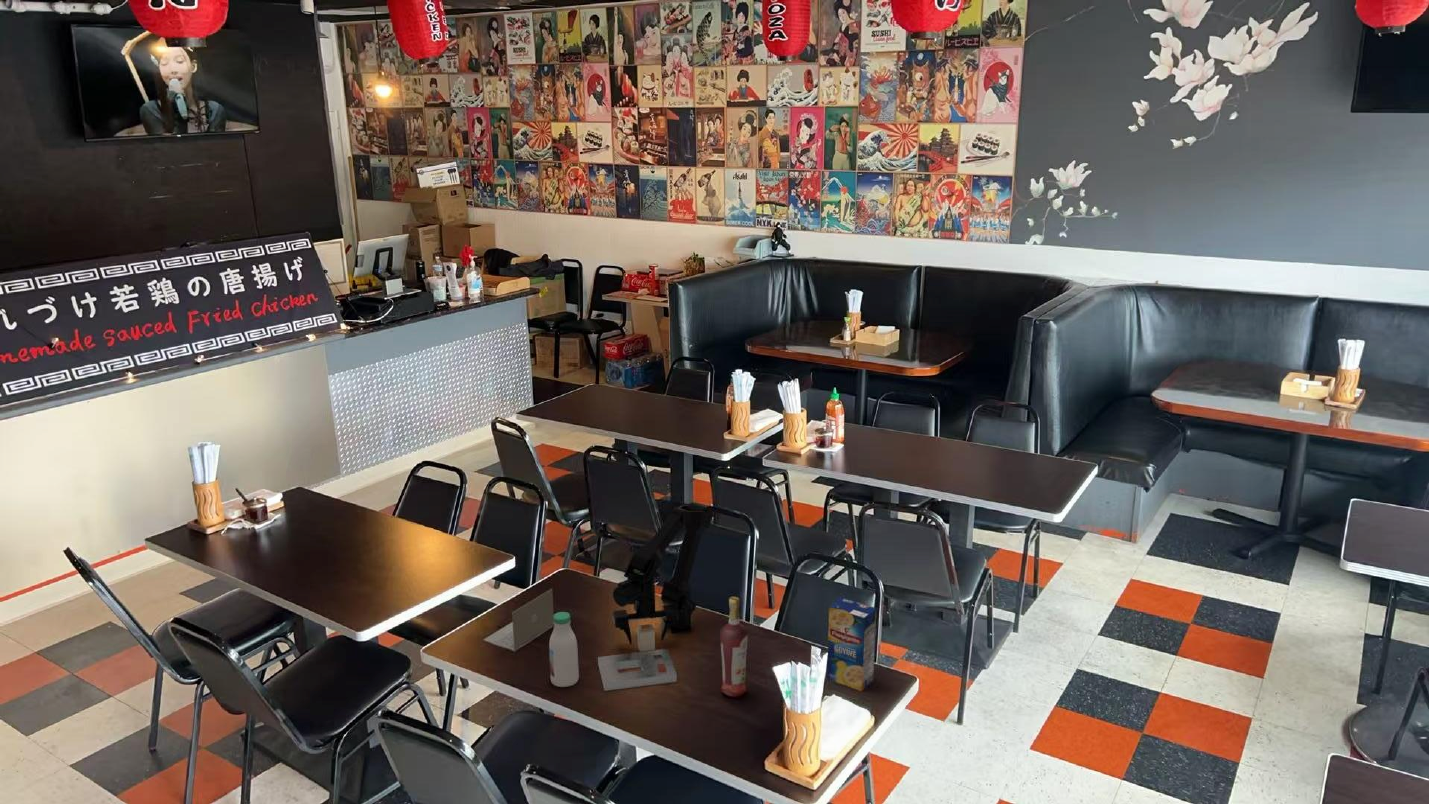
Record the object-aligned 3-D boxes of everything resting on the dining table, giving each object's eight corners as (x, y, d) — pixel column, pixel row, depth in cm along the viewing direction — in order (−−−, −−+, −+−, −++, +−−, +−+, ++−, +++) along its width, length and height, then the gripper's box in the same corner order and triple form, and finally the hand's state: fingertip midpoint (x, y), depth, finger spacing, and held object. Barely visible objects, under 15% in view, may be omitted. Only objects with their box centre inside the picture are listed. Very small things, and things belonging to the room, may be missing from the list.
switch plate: (667, 656, 293) (667, 646, 292) (676, 681, 280) (676, 671, 279) (598, 665, 289) (597, 654, 288) (604, 691, 275) (604, 680, 275)
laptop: (523, 617, 317) (521, 579, 313) (554, 627, 311) (552, 588, 307) (483, 642, 302) (480, 602, 299) (515, 653, 296) (512, 612, 292)
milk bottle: (583, 675, 283) (580, 611, 278) (571, 690, 276) (567, 623, 271) (558, 671, 286) (555, 606, 280) (545, 685, 278) (542, 619, 273)
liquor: (738, 703, 270) (739, 607, 262) (715, 695, 273) (714, 600, 266) (752, 690, 276) (753, 596, 268) (729, 682, 279) (729, 590, 272)
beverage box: (862, 691, 275) (865, 618, 269) (826, 678, 281) (828, 606, 275) (873, 680, 280) (876, 608, 274) (838, 668, 287) (841, 597, 281)
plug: (652, 642, 301) (651, 622, 299) (654, 649, 297) (654, 629, 295) (637, 644, 300) (637, 624, 298) (640, 651, 296) (639, 631, 294)
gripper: (671, 578, 303) (672, 625, 308) (609, 585, 299) (610, 632, 304) (678, 595, 293) (679, 643, 297) (614, 602, 289) (616, 651, 293)
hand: (646, 642), depth 298 cm, fingers open, 9 cm apart
